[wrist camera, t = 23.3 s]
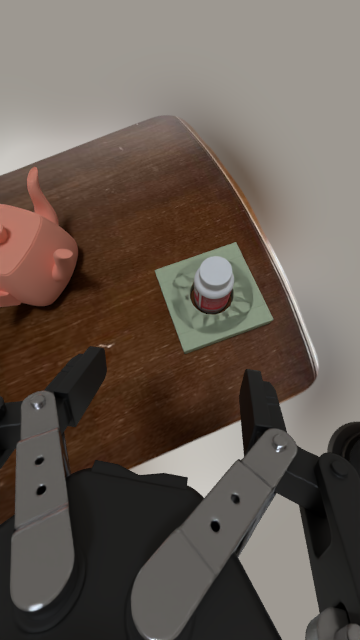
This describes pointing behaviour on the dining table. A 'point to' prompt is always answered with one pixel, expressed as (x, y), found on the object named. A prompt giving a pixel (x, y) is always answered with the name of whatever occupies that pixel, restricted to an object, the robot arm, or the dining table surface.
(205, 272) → the pill bottle
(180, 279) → the socket pad
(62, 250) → the teapot
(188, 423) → the dining table surface
